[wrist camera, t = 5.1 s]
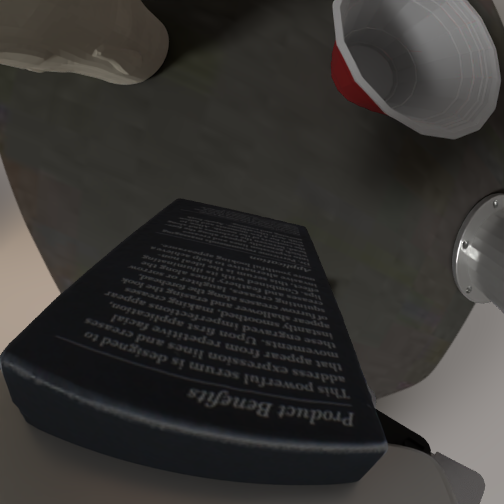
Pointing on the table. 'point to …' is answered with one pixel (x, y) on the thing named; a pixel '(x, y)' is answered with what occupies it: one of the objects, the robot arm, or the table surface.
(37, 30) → the vase
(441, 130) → the plastic cup
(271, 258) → the box
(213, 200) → the table surface
